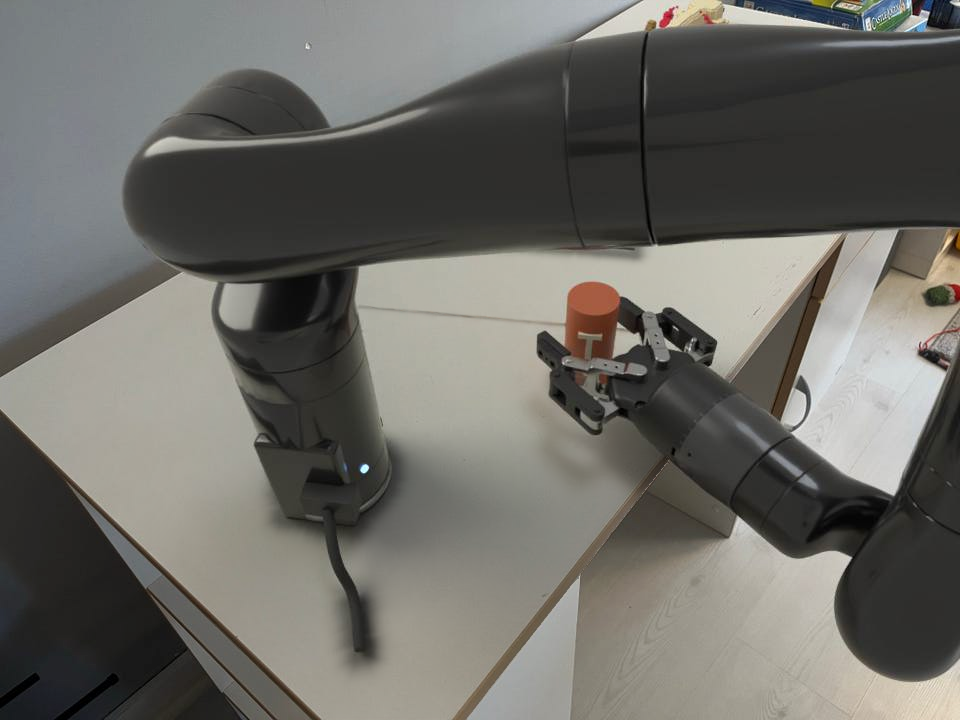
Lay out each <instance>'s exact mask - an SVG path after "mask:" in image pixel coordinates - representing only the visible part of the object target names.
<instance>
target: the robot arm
mask: <svg viewBox="0 0 960 720" xmlns="http://www.w3.org/2000/svg"><path fill="white" fill-rule="evenodd" d="M121 206H122V211H123V214H124V218H125V221H126V223H127V226H128V227H129V229H130V230H131V231H130V232H131V233H132V235H133V236H134V237H135V238H136V240H137V241H138V242H139V244H141V245H142V247H143V248H144V249H146V250H147V251H148V252H149V253H150V254H151V255H152V256H154V257H155V258H156V259H158V260H159V261H161V262H163V263H164V264H166V265H168V266H169V267H171V268H173V269H174V270H176V271H179V272H181V273H184V274H186V275H188V276H190V277H194V278H197V279H201V280H204V281H207V282H214V283H216V284H215V289H214V291H213V296H212V300H211V306H210V307H211V308H210V311H211V321H212V325H213V328H214V331H215V333H216V336H217V338H218V341H219V344H220V346H221V348H222V352H223V354H224V356H225V358H226V360H227V363H228V365H229V367H230V370H231V372H232V376H233V378H234V381H235V383H236V385H237V387H238V390H239V392H240V395H241V398H242V400H243V402H244V405H245V407H246V409H247V412H248V414H249V417H250V420H251V422H252V424H253V426H254V429H255V431H256V434H257V435H256V437H255V439H254V441H253V449H254V450H255V453H256V455H257V457H258V459H259V462H260V465H261V467H262V469H263V471H264V474H265V476H266V478H267V481H268V483H269V486H270V488H271V491H272V492H273V495H274V497H275V499H276V502H277V504H278V507H279V509H280V511H281V514H282V516H283V517H285V518H292V519H300V520H308V521H311V522H317V523H323V529H324V538H325V545H326V550H327V555H328V558H329V562H330V565H331V568H332V570H333V572H334V574H335V576H336V578H337V580H338V581H339V583H340V585H341V586H342V588H343V590H344V592H345V595H346V598H347V601H348V606H349V610H350V616H351V630H352V631H351V632H352V642H353V650H354V652H355V653H362V652H364V651H366V650H367V643H366V635H365V634H366V633H365V622H364V613H363V608H362V602H361V599H360V595H359V592H358V588H357V587H356V584H355V582H354V580H353V579H352V577H351V575H350V573H349V572H348V570H347V568H346V567H345V564H344V561H343V558H342V554H341V551H340V547H339V542H338V541H339V539H338V534H337V525H336V524H338V525H344V526H355V525H356V524H357V523H358V521H359V520H358V519H359V517H360V515H361V514H362V513H364V512H366V511H367V510H369V509H370V508H371V507H372V506H373V505H375V504H376V503H377V502H378V501H379V500H380V499H381V497H382V496H383V495H384V494H385V492H386V490H387V488H388V487H389V483H390V481H391V477H392V471H393V466H392V460H391V455H390V452H389V450H388V449H389V448H388V447H387V442H386V438H385V432H384V430H383V427H384V424H383V420H382V417H381V414H380V409H379V405H378V399H377V395H376V390H375V386H374V381H373V377H372V371H371V367H370V362H369V357H368V353H367V349H366V343H365V342H366V341H365V337H364V334H363V333H364V332H363V328H362V324H361V323H362V322H361V318H360V314H359V309H358V305H357V298H356V296H357V289H358V282H359V275H360V267H367V266H372V265H379V264H388V263H396V262H407V261H420V260H435V259H449V258H461V257H462V258H464V257H474V256H475V257H476V256H477V257H478V256H486V255H488V256H489V255H499V254H512V253H527V252H528V253H529V252H561V251H562V252H569V251H570V252H571V251H572V252H573V251H576V252H577V251H598V250H620V249H619V248H634V249H635V248H653V247H656V246H657V247H668V246H677V245H688V244H696V243H708V242H720V241H721V242H722V241H738V240H739V241H741V240H758V239H759V240H761V239H781V238H800V237H814V236H828V235H829V236H831V235H843V234H844V235H845V234H854V233H867V232H885V231H901V230H902V231H903V230H960V28H952V29H939V30H927V31H925V30H924V31H881V30H865V29H849V28H848V29H845V28H835V27H834V28H833V27H819V26H807V25H806V26H804V25H783V24H782V25H781V24H778V25H777V24H756V23H755V24H753V23H752V24H750V23H728V24H704V25H687V26H675V27H665V28H660V27H658V28H657V27H656V28H655V29H652V30H651V31H650V32H648V31H647V30H645V29H644V30H637V31H630V32H624V33H618V34H611V35H604V36H599V37H598V36H597V37H592V38H585V39H579V40H573V41H568V42H563V43H559V44H555V45H551V46H546V47H543V48H539V49H535V50H532V51H529V52H526V53H523V54H520V55H516V56H513V57H510V58H507V59H504V60H501V61H499V62H497V63H493V64H491V65H489V66H486V67H484V68H482V69H479V70H476V71H474V72H472V73H469V74H466V75H465V76H462V77H460V78H458V79H456V80H452V81H451V82H449V83H447V84H445V85H442V86H440V87H438V88H436V89H434V90H432V91H430V92H427V93H425V94H423V95H420V96H418V97H416V98H414V99H412V100H410V101H406V102H405V103H402V104H400V105H398V106H396V107H393V108H391V109H389V110H386V111H384V112H382V113H379V114H376V115H373V116H370V117H367V118H364V119H362V120H358V121H355V122H350V123H347V124H342V125H338V126H333V127H332V125H331V124H330V122H329V120H328V118H327V116H326V114H325V113H324V112H323V110H322V109H321V108H320V107H319V105H318V104H317V103H316V101H315V100H314V99H313V98H312V97H311V96H310V95H309V94H308V93H307V92H306V91H305V90H303V88H301V87H300V86H299V85H297V84H296V83H294V82H293V81H291V80H290V79H288V78H286V77H285V76H283V75H280V74H278V73H275V72H274V71H270V70H266V69H263V68H249V67H247V68H246V67H245V68H236V69H231V70H228V71H226V72H224V73H222V74H220V75H217V76H216V77H214V78H212V79H210V80H209V81H208V82H207V83H205V85H203V86H202V87H201V88H199V89H198V91H196V92H195V93H194V94H193V95H192V96H191V97H190V98H188V99H187V100H185V102H183V104H182V105H180V106H179V107H178V108H177V109H176V110H175V111H174V112H172V113H171V114H170V115H169V116H167V117H166V118H165V119H164V120H163V121H162V122H161V123H160V124H159V125H157V126H156V127H155V128H154V129H153V130H152V131H151V132H149V134H148V135H147V136H146V138H144V140H143V141H142V142H141V143H140V145H139V146H138V147H137V148H136V150H135V152H134V153H133V155H132V157H131V159H130V161H129V162H128V164H127V166H126V169H125V171H124V175H123V179H122V183H121ZM617 324H620V326H622V327H623V328H625V329H626V331H629V332H630V333H631V334H632V335H636V334H637V333H638V338H639V342H640V344H639V343H637V344H635V345H634V346H632V347H631V348H630V349H629V350H628V351H627V352H625V353H621V354H617V356H615V357H613V359H611V360H607V359H602V358H598V357H595V358H593V359H591V360H587V359H583V358H578V357H574V356H571V352H570V351H569V350H568V349H566V348H565V347H564V345H563V344H562V343H561V342H560V341H559V340H557V339H556V338H555V337H554V336H552V335H551V334H550V333H549V332H548V331H547V330H543V331H540V332H539V333H537V334H536V355H537V358H539V360H541V361H542V362H543V363H544V364H545V365H546V366H547V367H548V368H549V369H551V370H550V371H549V377H548V378H549V387H548V397H549V398H550V399H551V400H552V401H553V402H554V403H556V405H558V406H559V407H560V408H561V409H562V411H564V412H565V413H566V414H568V416H570V417H571V418H572V419H573V420H574V421H575V422H576V423H577V424H579V426H581V427H582V428H583V429H584V430H585V431H586V432H587V433H588V434H590V435H591V436H600V435H601V434H602V433H603V429H604V426H605V425H606V424H608V423H609V422H610V421H612V420H613V419H615V418H617V417H619V418H622V419H625V420H627V421H628V422H629V421H630V422H631V423H632V424H633V425H634V427H636V429H637V430H638V432H639V433H640V435H641V436H642V437H643V438H644V439H645V440H646V441H647V442H649V444H651V445H652V446H653V447H654V448H656V450H657V451H659V452H660V453H661V454H662V455H663V456H664V457H665V458H667V460H669V462H671V463H672V464H673V465H675V466H676V467H677V468H678V469H679V470H680V471H681V472H682V473H683V474H684V475H685V476H686V477H688V478H689V479H690V480H692V481H693V482H694V483H695V484H696V485H697V486H698V487H699V488H701V489H702V490H703V491H705V492H706V493H707V494H708V495H710V496H711V497H712V498H714V499H716V500H717V501H718V502H719V503H722V504H723V505H724V506H726V507H727V508H728V509H729V510H731V511H732V512H733V513H734V514H735V515H736V516H737V517H738V518H739V519H740V520H742V521H743V522H744V523H745V524H747V525H748V526H749V528H751V529H752V530H753V531H754V532H755V533H756V534H757V535H758V536H760V537H761V538H762V539H763V540H764V541H766V542H767V543H768V544H769V545H771V546H772V547H773V548H774V549H776V550H777V551H778V552H780V553H781V554H783V555H784V556H786V557H787V558H791V559H794V560H800V559H807V558H811V557H813V556H816V555H818V554H822V553H825V552H838V553H840V554H843V555H845V556H848V557H849V558H851V559H850V560H849V561H848V563H847V565H846V567H845V568H844V570H843V572H842V573H841V576H840V578H839V580H838V583H837V585H836V589H835V592H834V598H833V613H834V614H833V615H834V619H835V623H836V627H837V630H838V632H839V635H840V637H841V640H842V641H843V643H844V644H845V646H846V647H847V649H848V650H849V651H850V653H851V654H852V656H854V658H855V659H857V660H858V661H859V662H860V663H861V664H862V665H864V666H865V667H866V668H868V669H869V670H871V671H872V672H874V673H875V674H877V675H880V676H881V677H885V678H886V679H889V680H893V681H897V682H903V683H921V682H928V681H931V680H933V679H936V678H939V677H940V676H942V675H943V674H945V673H947V672H948V671H949V670H950V669H952V668H953V667H954V666H955V665H956V664H957V663H958V661H960V337H959V338H958V341H957V344H956V347H955V350H954V352H953V355H952V357H951V360H950V362H949V365H948V367H947V369H946V373H945V375H944V378H943V380H942V382H941V385H940V386H939V389H938V392H937V394H936V397H935V398H934V401H933V403H932V405H931V407H930V410H929V412H928V415H927V417H926V419H925V421H924V424H923V426H922V427H921V429H920V432H919V435H918V438H917V439H916V442H915V444H914V446H913V447H912V451H911V453H910V454H909V457H908V460H907V461H906V464H905V466H904V469H903V471H902V474H901V475H900V479H899V482H898V486H897V488H896V491H895V493H894V495H893V494H891V493H890V492H887V491H885V490H883V489H880V488H878V487H876V486H874V485H872V484H869V483H867V482H863V481H861V480H858V479H856V478H854V477H852V476H849V475H847V474H846V473H844V472H842V471H841V470H840V469H838V467H836V466H835V465H834V464H833V463H831V462H830V461H829V460H827V459H826V458H825V457H823V456H822V455H820V454H819V453H818V452H816V451H815V450H814V449H813V448H811V447H810V446H808V445H807V444H806V443H805V442H803V441H802V440H800V439H799V438H798V437H796V436H795V435H794V434H793V433H792V432H791V431H790V430H788V429H787V427H785V426H784V425H783V424H782V422H781V421H780V420H778V419H777V417H775V416H774V415H773V414H772V413H770V411H768V410H767V409H765V408H764V407H763V406H761V405H760V404H759V403H757V402H756V401H755V400H754V399H752V398H751V397H750V396H748V395H747V394H746V393H744V392H743V391H741V390H740V389H738V388H737V387H736V386H735V385H733V384H732V383H731V382H729V381H728V380H726V379H725V378H724V377H722V376H721V375H720V374H719V373H717V372H716V371H714V370H713V369H712V368H711V366H712V364H713V361H714V357H715V353H716V350H717V346H718V340H717V339H716V338H714V337H713V336H712V335H711V334H709V333H707V332H706V331H705V330H704V329H702V328H701V327H699V326H698V325H697V324H696V323H694V322H693V321H691V320H690V319H688V317H686V316H684V315H683V314H682V313H681V312H679V311H678V310H677V309H675V308H674V307H670V306H666V307H664V308H662V310H661V312H657V313H655V312H653V311H645V309H643V308H642V307H640V306H639V305H637V304H636V303H634V302H633V301H632V300H631V299H629V298H627V297H625V296H621V295H620V306H619V314H618V321H617ZM665 340H667V341H668V342H670V343H671V344H672V345H673V346H674V347H676V348H677V349H678V350H676V349H672V348H668V347H667V344H666V341H665ZM576 372H580V373H584V374H587V375H588V376H584V375H580V374H576ZM599 374H606V375H607V378H606V381H607V384H603V383H601V382H600V381H599ZM602 399H603V400H602ZM604 400H608V401H604Z"/></svg>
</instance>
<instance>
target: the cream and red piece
mask: <svg viewBox="0 0 960 720" xmlns="http://www.w3.org/2000/svg"><path fill="white" fill-rule="evenodd" d="M675 9H676V13H675V14H674V10H675ZM686 9H687V10H685V9H683V8H681V9H679V5H676V6H673V7H669V8H668V10H666V11H664V12H663V15H662V19H661V20H659V23H658V28H665V27H675V26H687V25H704V24H730V23H729V21H730V20H728V19H726V18H724V17H723V15H724V13H725V9H726V7H725V5H724V4H723V2H722V1H721V0H692V1H691V2H689V4H687V8H686ZM674 17H676V18H675V19H674ZM646 22H647V23H646V25H645V27H644V30H647V31H648V32H650V31H651V30H652V29H657V20H654V19H649V20H648V21H646Z"/></svg>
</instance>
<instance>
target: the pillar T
mask: <svg viewBox="0 0 960 720" xmlns="http://www.w3.org/2000/svg"><path fill="white" fill-rule="evenodd" d="M620 297H621V295H620V293H619V292H618V291H617V289H616V288H615V287H612V286H611V285H609V284H607V283H604V282H600V281H585V282H580V283H578V284H576V285H574V286H573V287H572V288H570V290H569V291H568V293H567V297H566V298H567V300H566V313H565V314H566V315H565V328H564V329H565V331H564V345H563V346H564V347H565V348H566V349H568V350H569V351H570V352H571V356H574V357H578V358H583V359H587V360H591V359H593V358H595V357H598V358H602V359H607V360H611V359H613V358H614V350H615V343H616V336H617V329H618V322H617V321H618V314H619V306H620ZM576 374H580V375H584V376H588V375H587V374H584V373H580V372H576ZM606 378H607V375H606V374H599V381H600V382H601V383H603V384H607V381H606Z"/></svg>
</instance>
